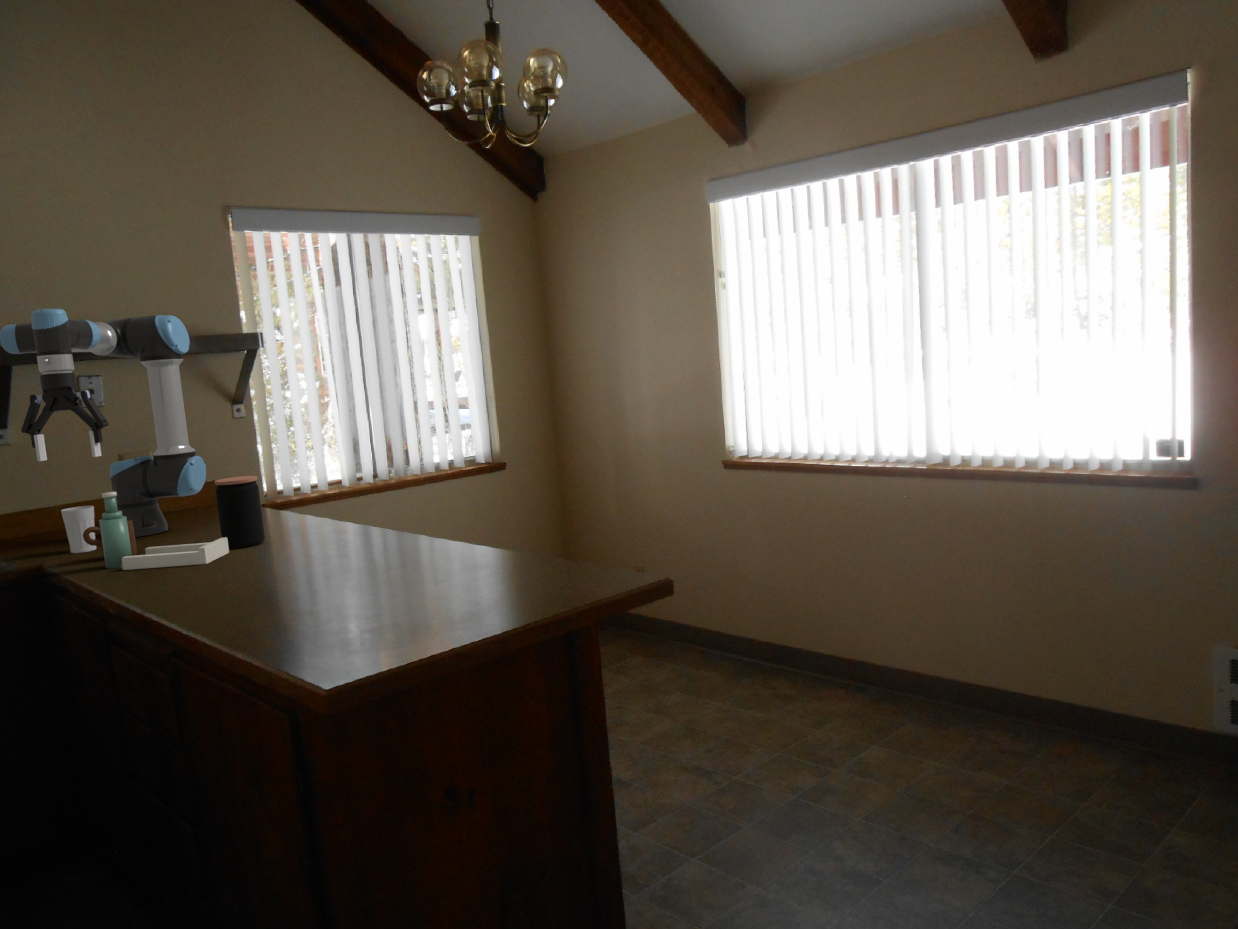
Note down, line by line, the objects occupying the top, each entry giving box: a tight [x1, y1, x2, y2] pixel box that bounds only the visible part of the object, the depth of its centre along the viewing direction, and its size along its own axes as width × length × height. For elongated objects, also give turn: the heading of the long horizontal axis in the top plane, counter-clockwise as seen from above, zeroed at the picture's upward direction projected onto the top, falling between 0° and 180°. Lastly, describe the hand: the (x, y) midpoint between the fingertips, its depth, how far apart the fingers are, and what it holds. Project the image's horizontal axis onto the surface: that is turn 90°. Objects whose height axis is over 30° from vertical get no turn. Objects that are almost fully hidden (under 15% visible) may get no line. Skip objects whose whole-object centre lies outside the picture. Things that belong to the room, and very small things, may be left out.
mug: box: [83, 519, 138, 556], centre depth 243 cm, size 12×8×9 cm, turn 134°
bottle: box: [98, 491, 132, 569], centre depth 231 cm, size 6×6×18 cm
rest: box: [120, 537, 230, 571], centre depth 232 cm, size 13×22×4 cm, turn 89°
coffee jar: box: [214, 475, 266, 550], centre depth 247 cm, size 11×11×18 cm
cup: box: [60, 505, 98, 554], centre depth 259 cm, size 8×8×12 cm
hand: (69, 458), depth 230 cm, fingers open, 13 cm apart
